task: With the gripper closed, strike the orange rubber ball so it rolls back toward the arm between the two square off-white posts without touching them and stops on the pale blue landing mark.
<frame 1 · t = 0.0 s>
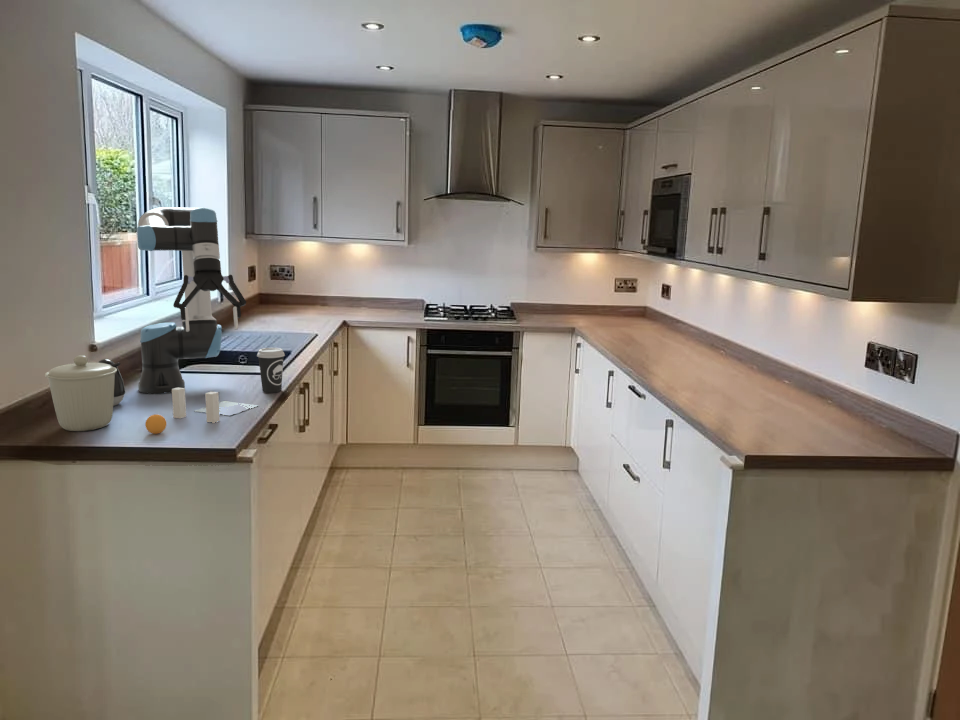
hand: (212, 329, 212), 28 cm above the worktop, tool tilted 20°, fingers open, 13 cm apart
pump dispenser: (108, 405, 232), on the worktop
post 1: (179, 417, 220), on the worktop
ball: (155, 424, 203), on the worktop
landing mark: (227, 408, 231), on the worktop
post 2: (213, 421, 216), on the worktop
coffee cup: (272, 391, 256), on the worktop
canister: (86, 427, 208), on the worktop
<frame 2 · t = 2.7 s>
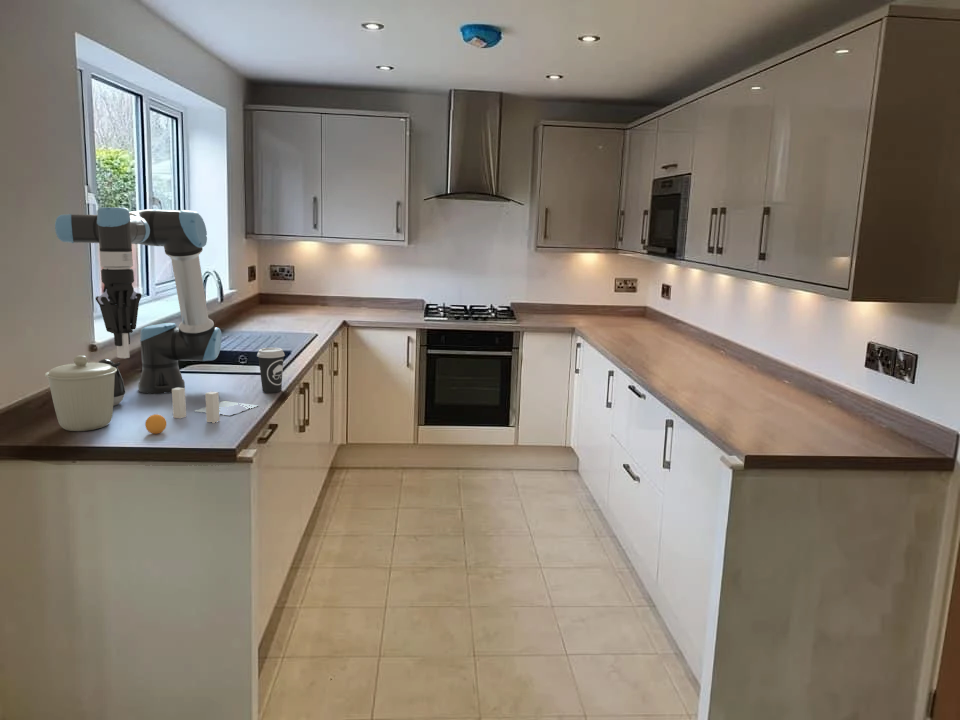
hand: (123, 357, 190), 24 cm above the worktop, tool pointing down, fingers closed
nothing on the worktop moved.
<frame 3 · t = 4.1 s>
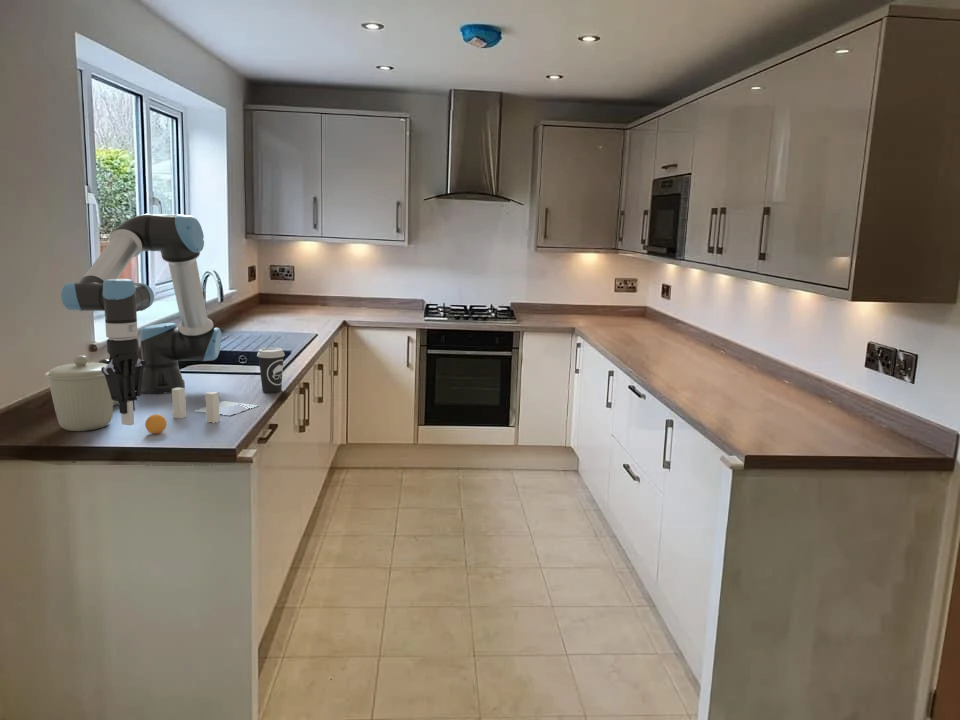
hand: (128, 424, 193), 5 cm above the worktop, tool pointing down, fingers closed
nothing on the worktop moved.
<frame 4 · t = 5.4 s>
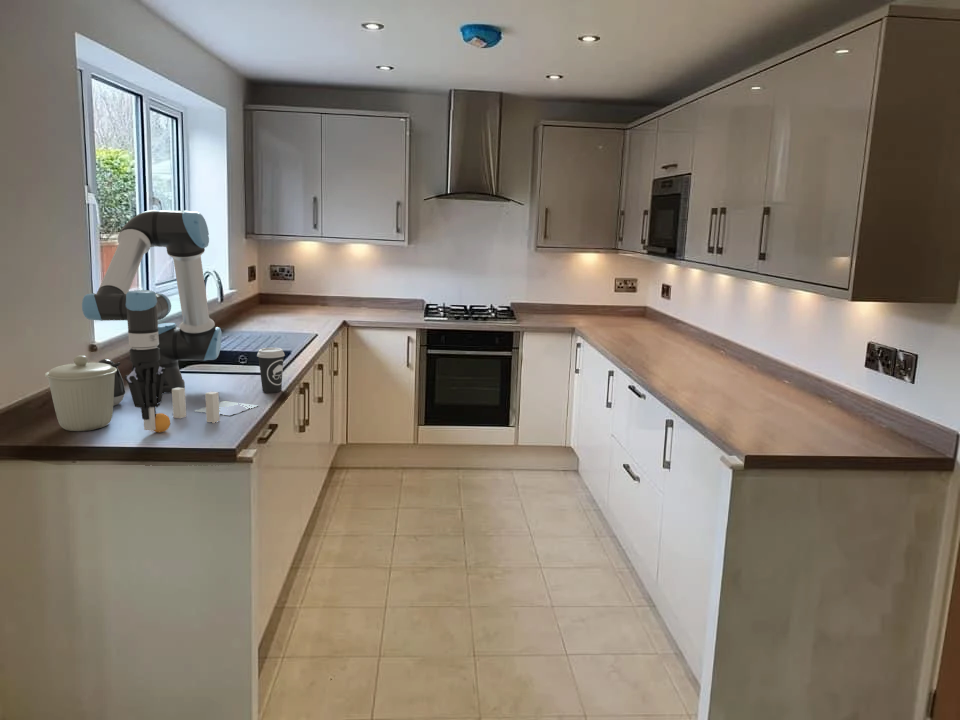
hand: (149, 429, 201), 2 cm above the worktop, tool pointing down, fingers closed
ball: (159, 422, 204), on the worktop, touching gripper
everything else where it was.
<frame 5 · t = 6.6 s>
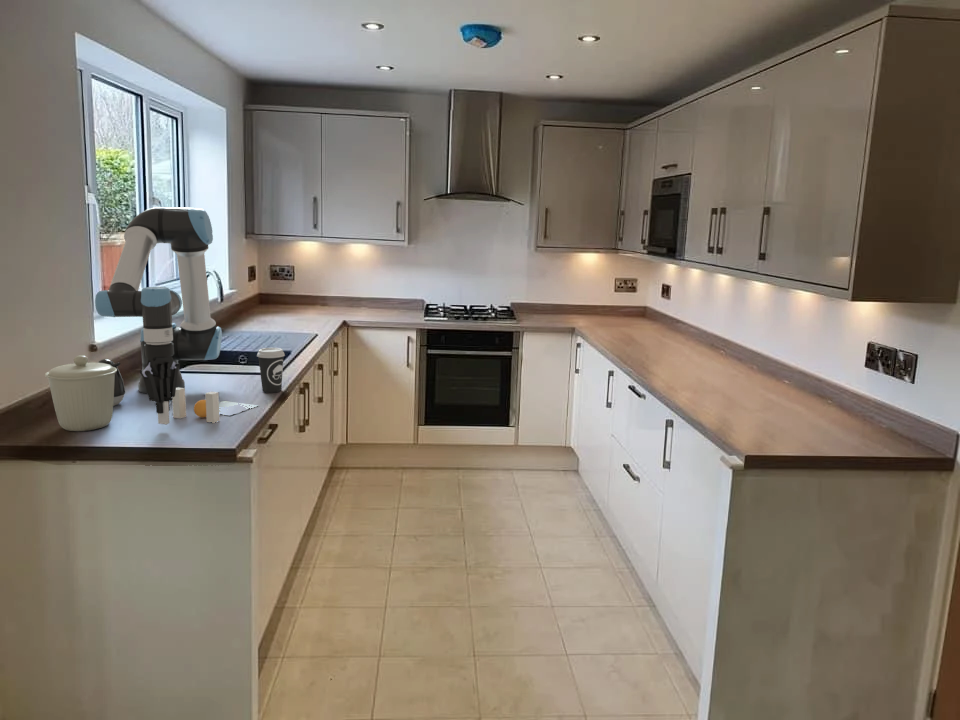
hand: (164, 423, 205), 2 cm above the worktop, tool pointing down, fingers closed
ball: (203, 408, 220), on the worktop
everything else where it was.
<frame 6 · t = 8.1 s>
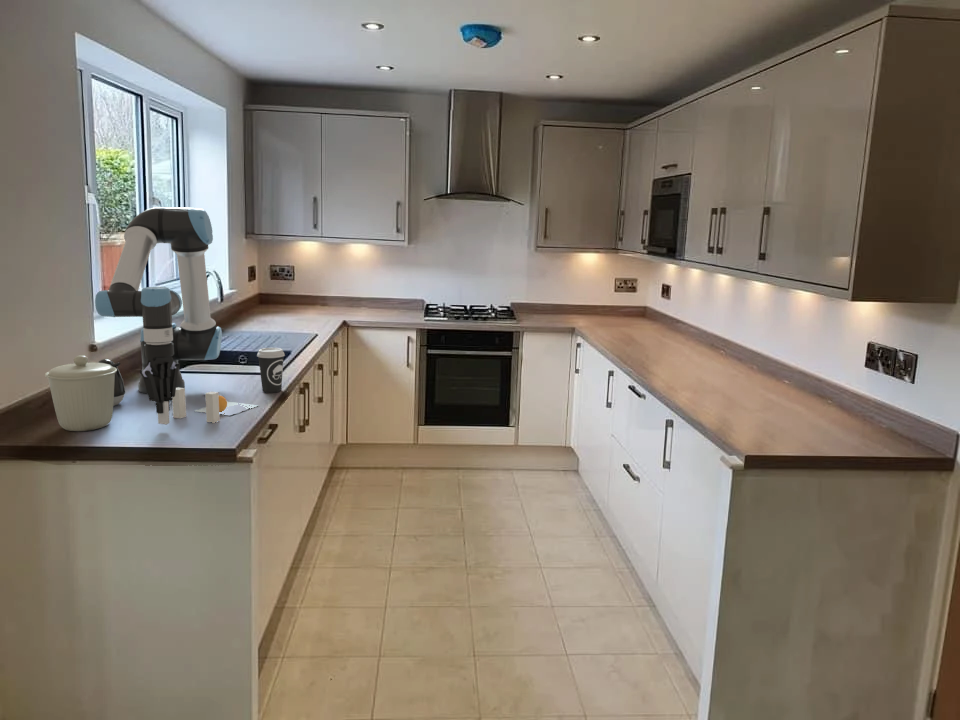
hand: (164, 423, 205), 2 cm above the worktop, tool pointing down, fingers closed
ball: (217, 403, 226), on the worktop
everything else where it was.
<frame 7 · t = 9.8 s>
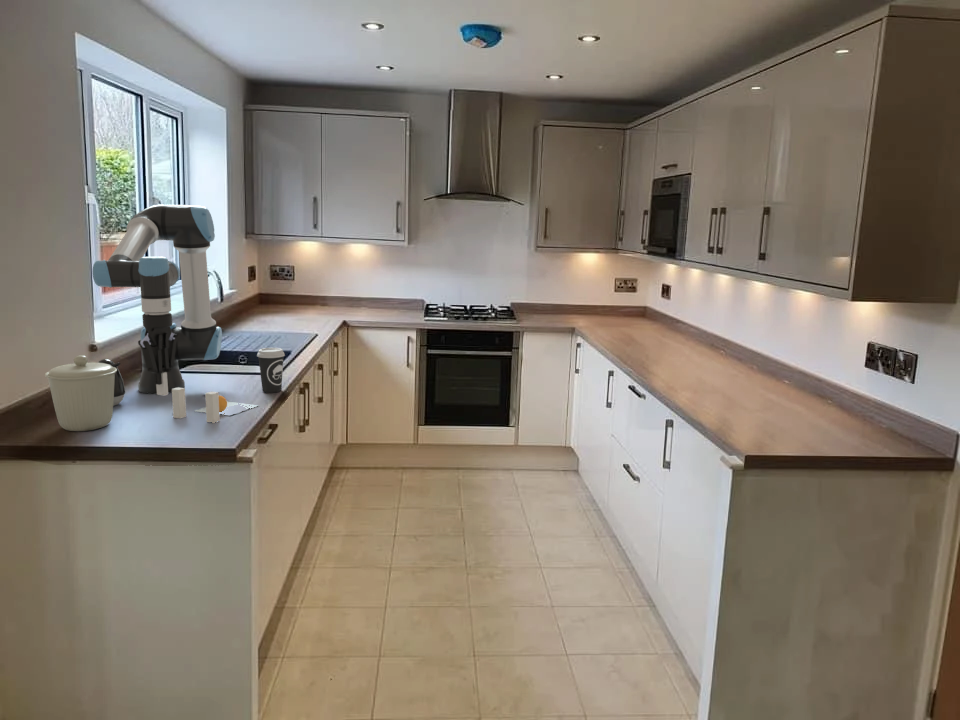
hand: (162, 394, 204), 11 cm above the worktop, tool pointing down, fingers closed
nothing on the worktop moved.
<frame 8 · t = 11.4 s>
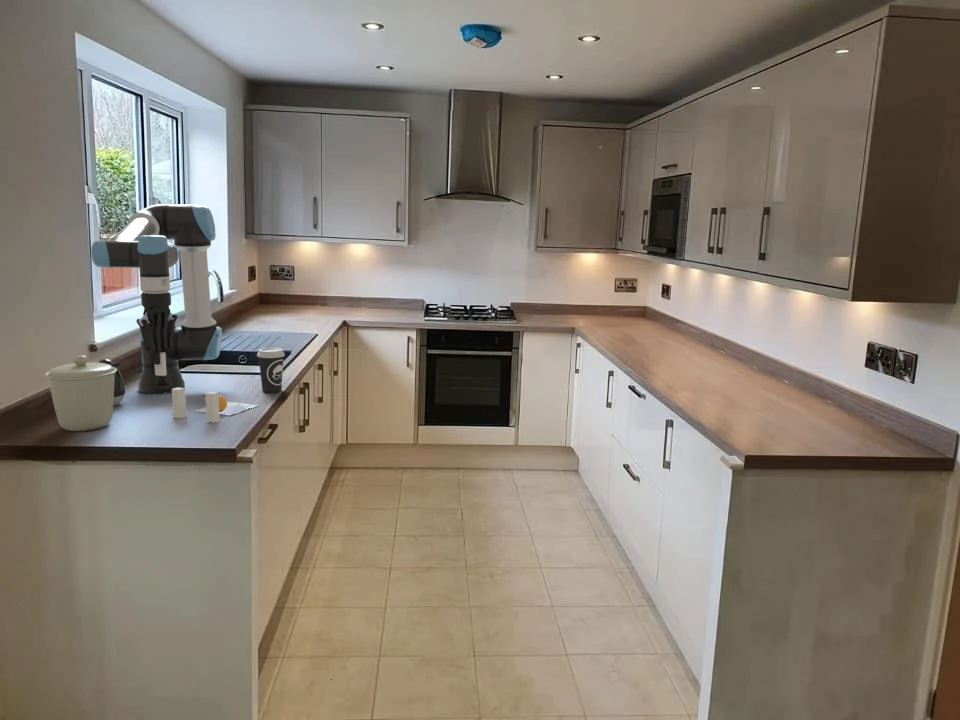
hand: (160, 374, 203), 16 cm above the worktop, tool pointing down, fingers closed
nothing on the worktop moved.
at the end: ball 4.7 cm from the landing mark (horizontally); ball never touched post 2; ball never touched post 1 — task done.
